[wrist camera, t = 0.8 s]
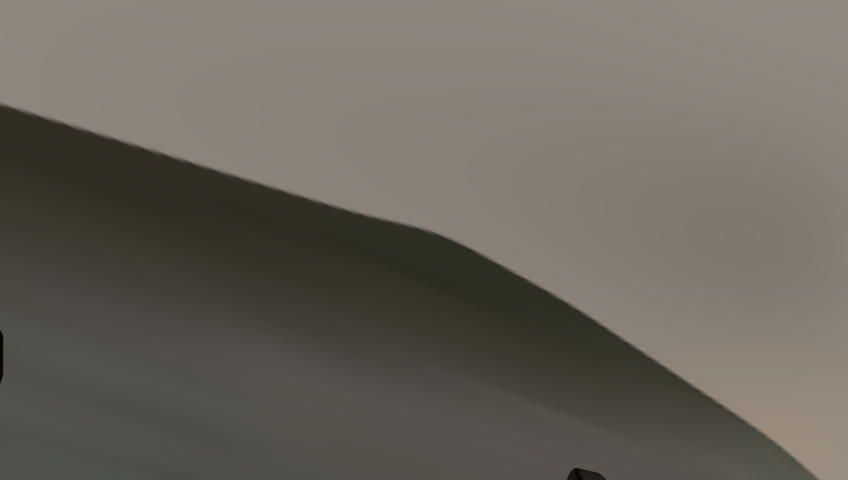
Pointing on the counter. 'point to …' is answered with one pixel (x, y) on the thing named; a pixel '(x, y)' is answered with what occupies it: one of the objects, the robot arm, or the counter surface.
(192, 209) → the counter surface
